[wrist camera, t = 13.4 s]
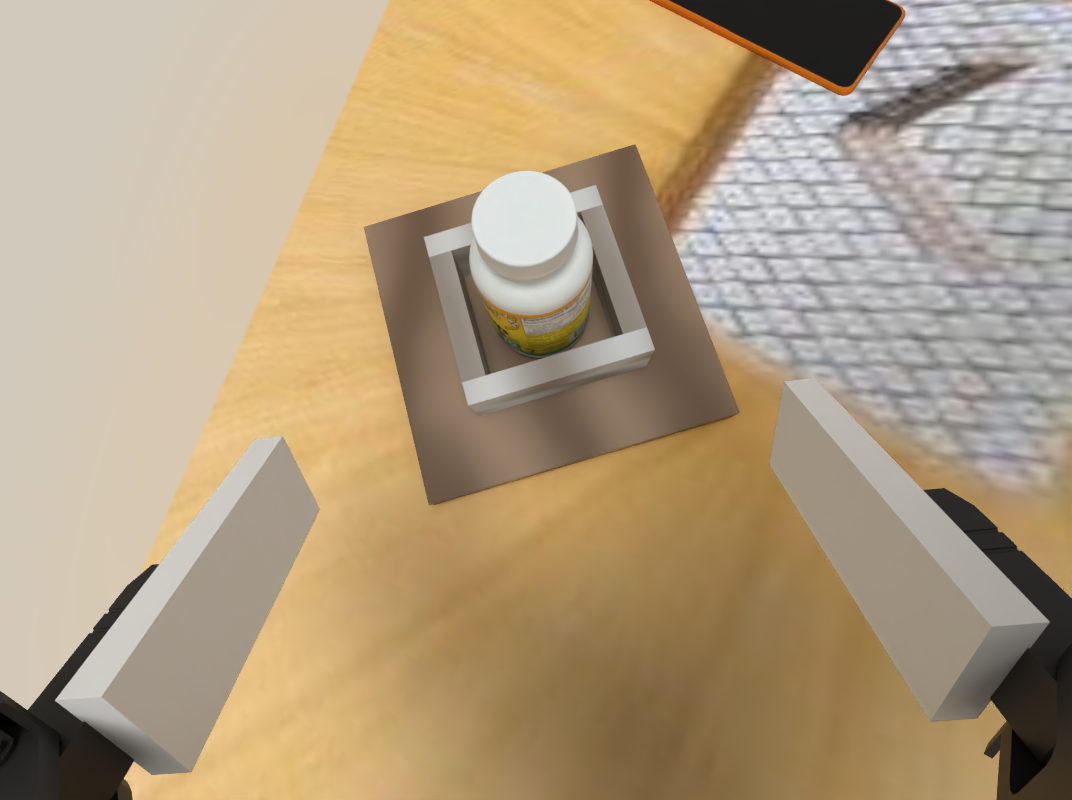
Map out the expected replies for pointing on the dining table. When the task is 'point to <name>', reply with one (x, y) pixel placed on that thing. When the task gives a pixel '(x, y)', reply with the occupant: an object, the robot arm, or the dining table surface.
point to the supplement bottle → (532, 262)
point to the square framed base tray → (556, 381)
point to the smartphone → (802, 33)
